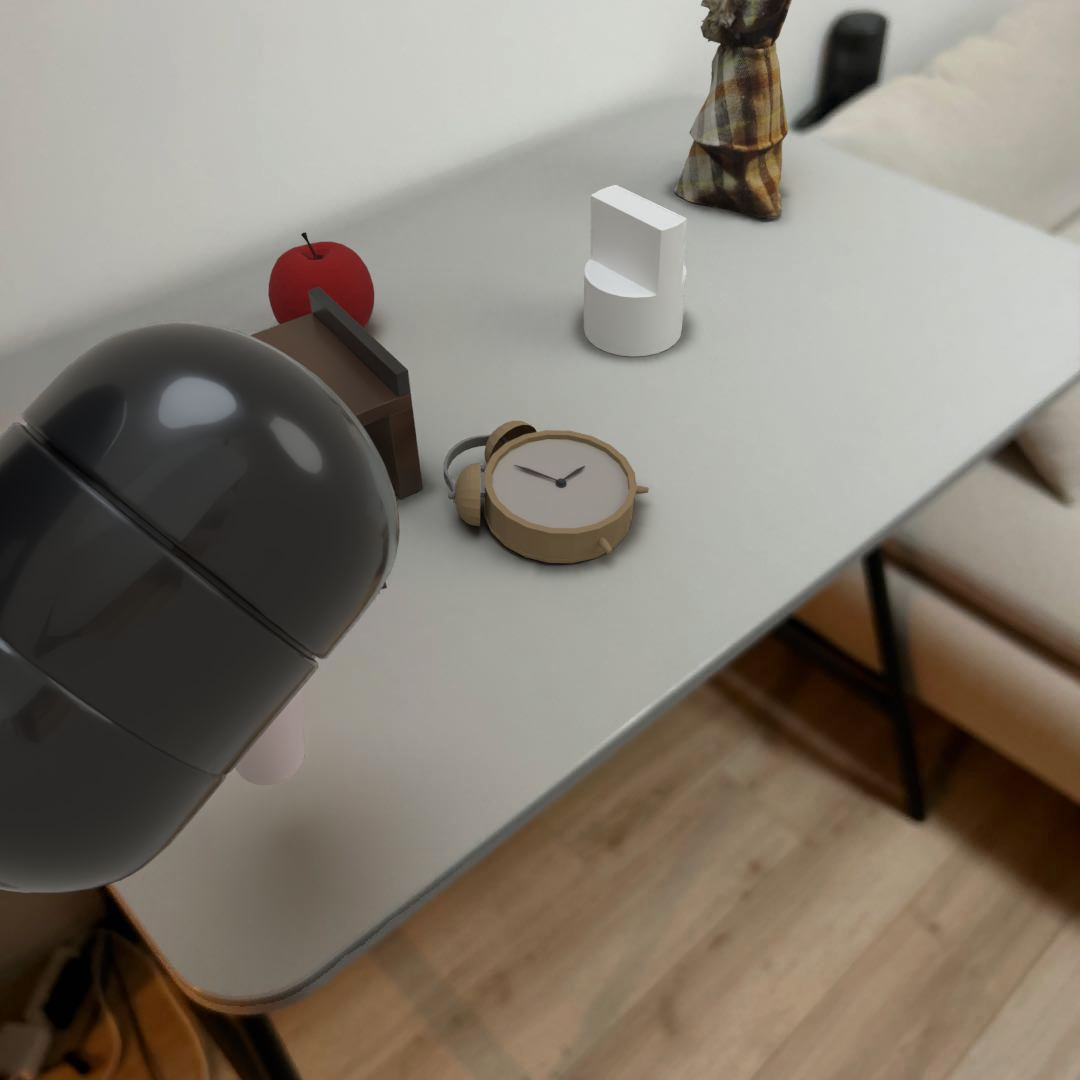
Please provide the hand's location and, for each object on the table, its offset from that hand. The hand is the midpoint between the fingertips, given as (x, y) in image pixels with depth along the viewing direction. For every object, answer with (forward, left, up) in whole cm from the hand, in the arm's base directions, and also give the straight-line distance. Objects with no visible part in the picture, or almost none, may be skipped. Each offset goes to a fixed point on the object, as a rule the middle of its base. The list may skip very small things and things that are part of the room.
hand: (224, 602), depth 52 cm
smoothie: (-1, -2, -10) cm, 11 cm away
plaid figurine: (+73, +42, -17) cm, 86 cm away
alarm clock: (+27, +12, -17) cm, 34 cm away
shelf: (+11, +26, -17) cm, 33 cm away
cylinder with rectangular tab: (+48, +27, -17) cm, 58 cm away
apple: (+25, +43, -17) cm, 53 cm away
